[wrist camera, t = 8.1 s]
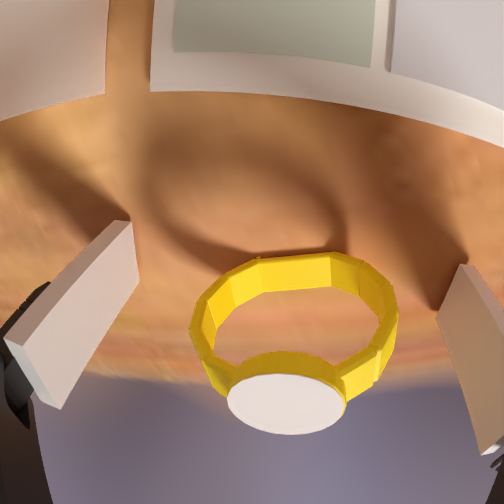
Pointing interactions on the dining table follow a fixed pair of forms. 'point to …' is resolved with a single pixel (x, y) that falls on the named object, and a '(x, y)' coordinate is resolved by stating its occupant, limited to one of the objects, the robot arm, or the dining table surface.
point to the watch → (294, 363)
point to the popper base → (50, 53)
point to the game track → (342, 55)
